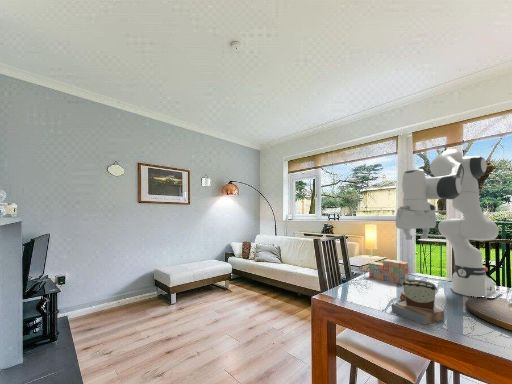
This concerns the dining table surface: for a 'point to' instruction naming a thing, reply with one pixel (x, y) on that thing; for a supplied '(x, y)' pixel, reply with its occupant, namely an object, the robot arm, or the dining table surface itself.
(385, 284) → the dining table surface
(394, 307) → the corner jig
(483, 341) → the dining table surface
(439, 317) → the walnut slab
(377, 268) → the stack of blocks
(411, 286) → the food container
